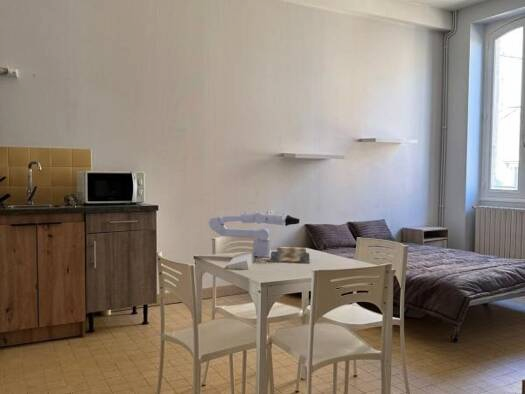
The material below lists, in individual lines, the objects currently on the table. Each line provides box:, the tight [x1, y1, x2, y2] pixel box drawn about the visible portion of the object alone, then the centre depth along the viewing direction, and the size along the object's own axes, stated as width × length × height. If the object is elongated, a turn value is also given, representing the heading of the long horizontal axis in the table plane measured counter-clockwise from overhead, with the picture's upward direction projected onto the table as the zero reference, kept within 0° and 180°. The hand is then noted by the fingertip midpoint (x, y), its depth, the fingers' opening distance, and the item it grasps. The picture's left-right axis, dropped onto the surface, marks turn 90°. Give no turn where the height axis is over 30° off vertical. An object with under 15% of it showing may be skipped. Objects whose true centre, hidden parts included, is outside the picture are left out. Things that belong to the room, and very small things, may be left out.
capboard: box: [269, 250, 311, 264], centre depth 274 cm, size 21×11×4 cm, turn 83°
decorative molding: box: [226, 250, 256, 270], centre depth 263 cm, size 34×5×10 cm
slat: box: [276, 246, 307, 258], centre depth 285 cm, size 16×2×6 cm, turn 83°
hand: (299, 221), depth 287 cm, fingers open, 7 cm apart
